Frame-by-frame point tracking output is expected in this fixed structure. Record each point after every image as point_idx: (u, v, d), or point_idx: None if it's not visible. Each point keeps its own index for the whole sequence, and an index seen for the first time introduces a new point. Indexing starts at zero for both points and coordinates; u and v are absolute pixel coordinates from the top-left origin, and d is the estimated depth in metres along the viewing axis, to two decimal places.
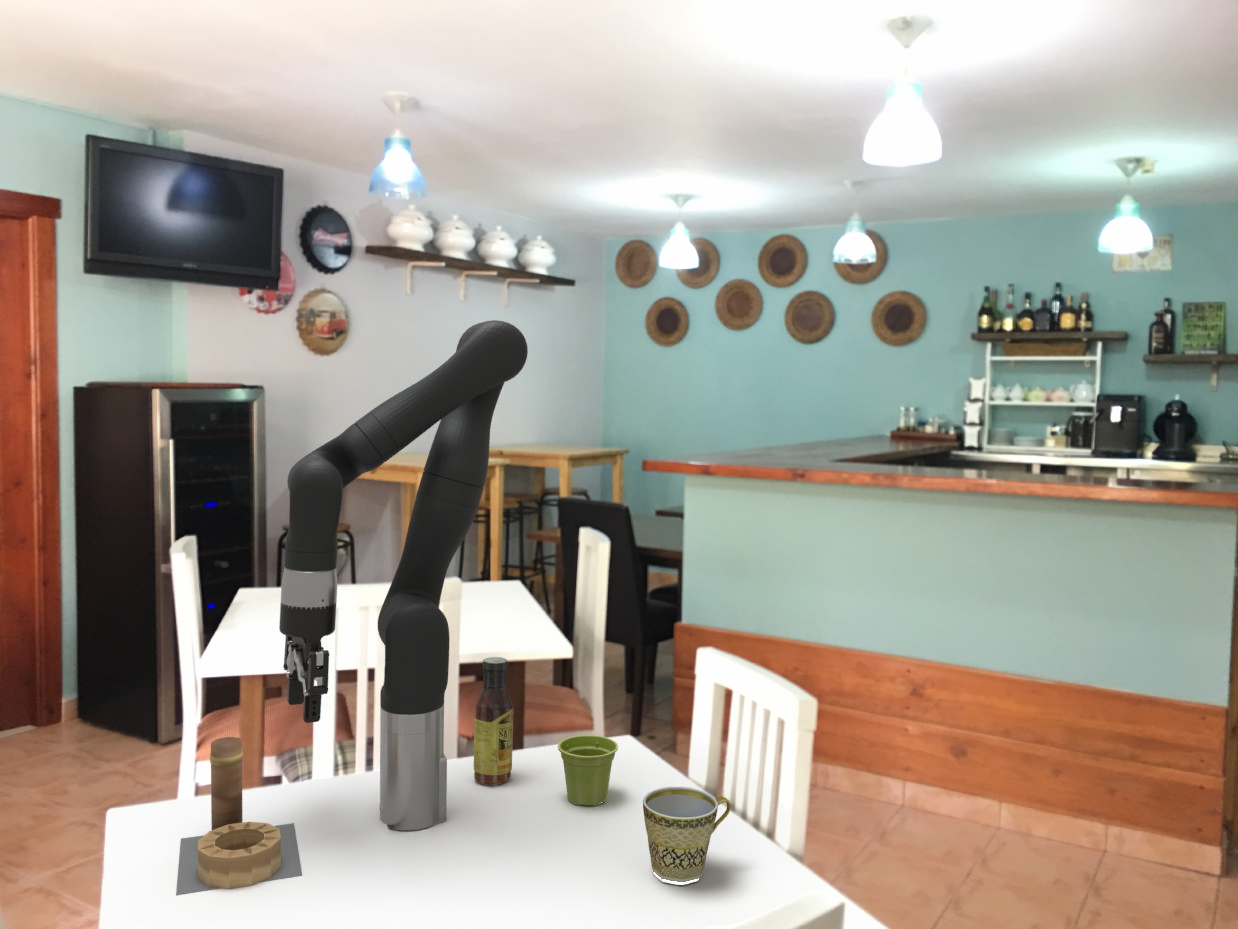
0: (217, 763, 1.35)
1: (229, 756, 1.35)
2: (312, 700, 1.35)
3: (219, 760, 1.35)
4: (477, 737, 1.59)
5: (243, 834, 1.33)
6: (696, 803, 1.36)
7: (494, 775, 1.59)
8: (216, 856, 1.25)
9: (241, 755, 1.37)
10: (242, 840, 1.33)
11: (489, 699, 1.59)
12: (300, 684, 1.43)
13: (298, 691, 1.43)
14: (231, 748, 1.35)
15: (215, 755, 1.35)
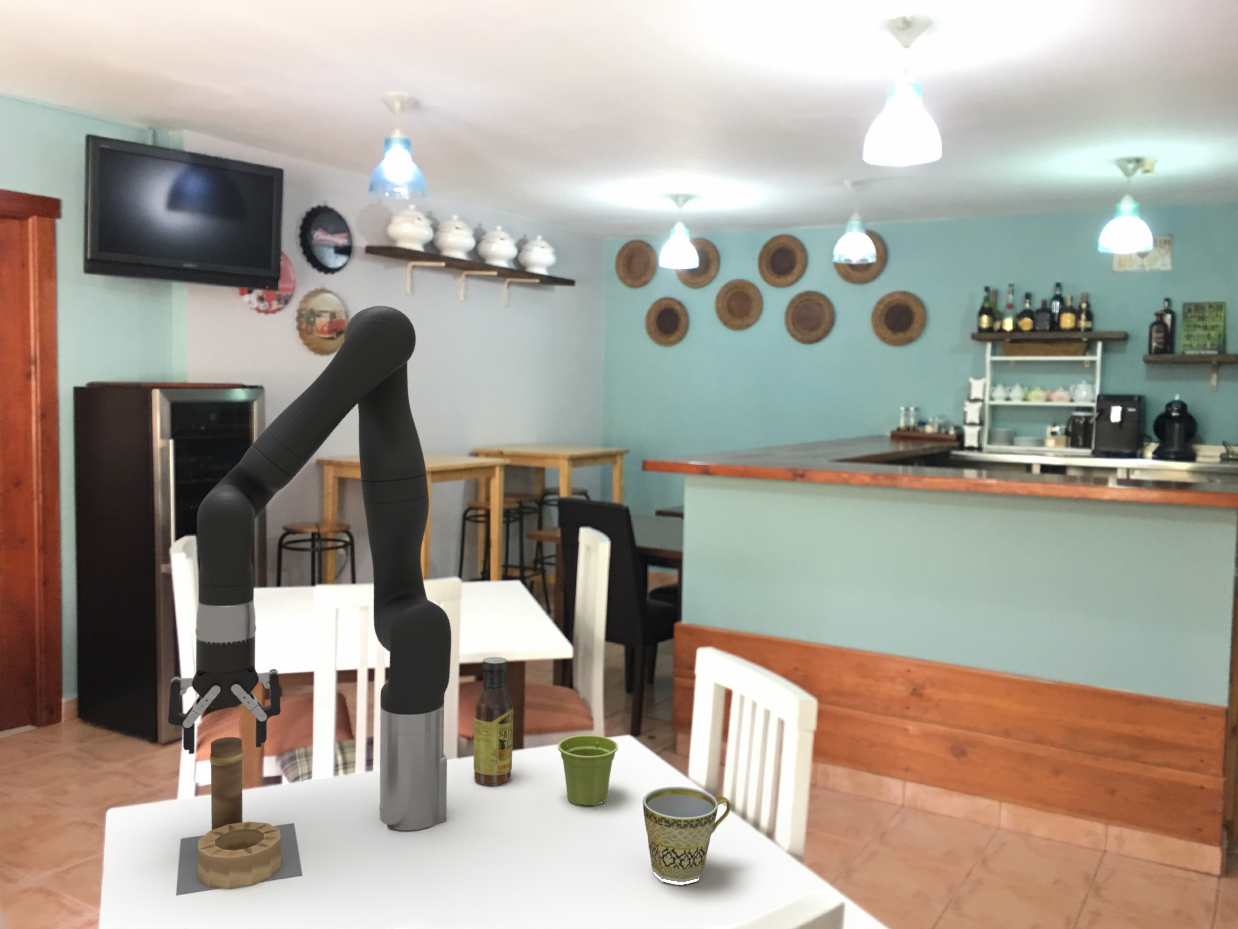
0: (217, 763, 1.35)
1: (229, 756, 1.35)
2: None
3: (219, 760, 1.35)
4: (477, 737, 1.59)
5: (243, 834, 1.33)
6: (696, 803, 1.36)
7: (494, 775, 1.59)
8: (216, 856, 1.25)
9: (241, 755, 1.37)
10: (242, 840, 1.33)
11: (489, 699, 1.59)
12: (194, 729, 1.35)
13: (194, 737, 1.35)
14: (231, 748, 1.35)
15: (215, 755, 1.35)
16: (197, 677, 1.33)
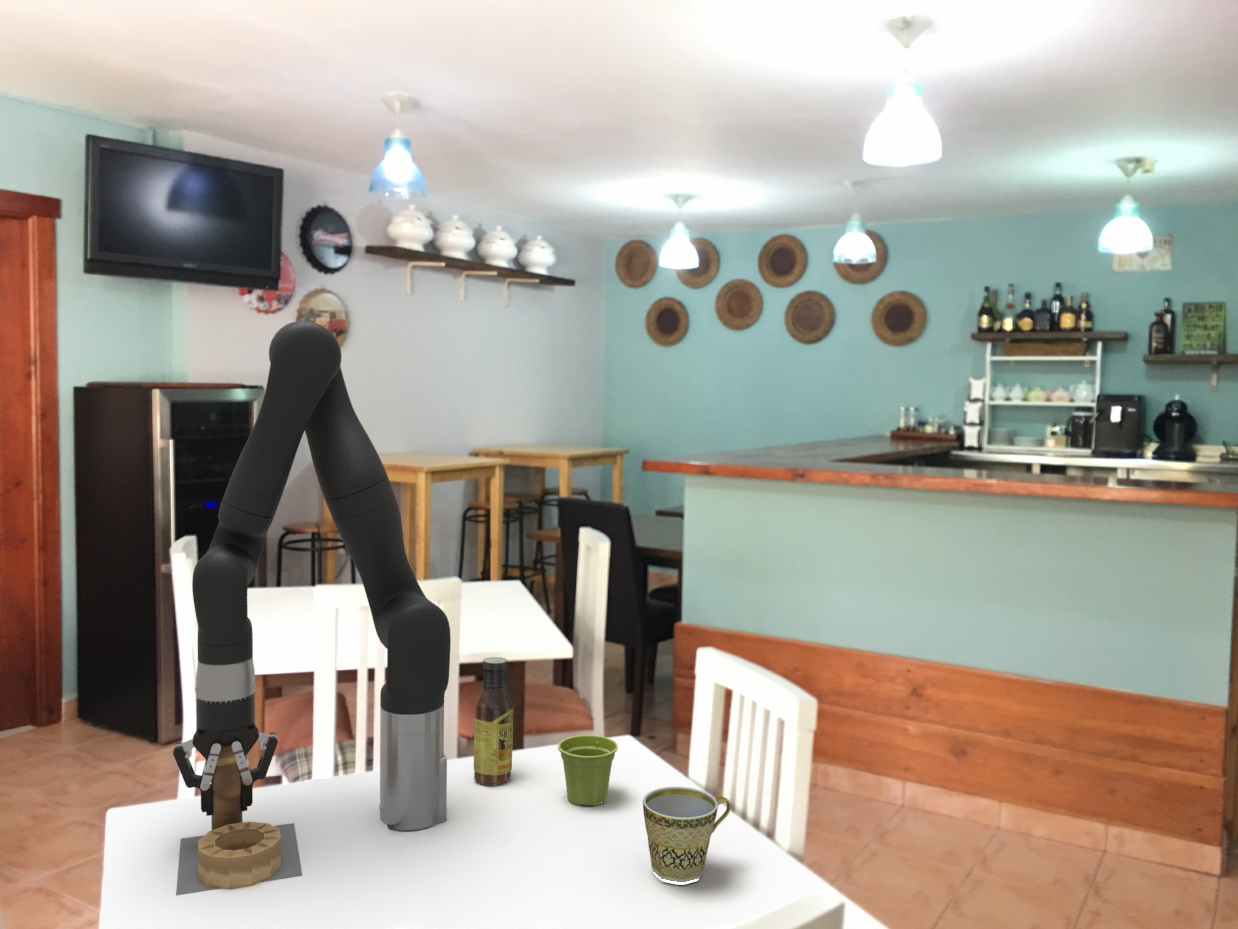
0: (217, 763, 1.35)
1: (229, 756, 1.35)
2: None
3: (219, 760, 1.35)
4: (477, 737, 1.59)
5: (243, 834, 1.33)
6: (696, 803, 1.36)
7: (494, 775, 1.59)
8: (216, 856, 1.25)
9: None
10: (242, 840, 1.33)
11: (489, 699, 1.59)
12: None
13: None
14: (231, 748, 1.35)
15: None
16: (195, 737, 1.34)
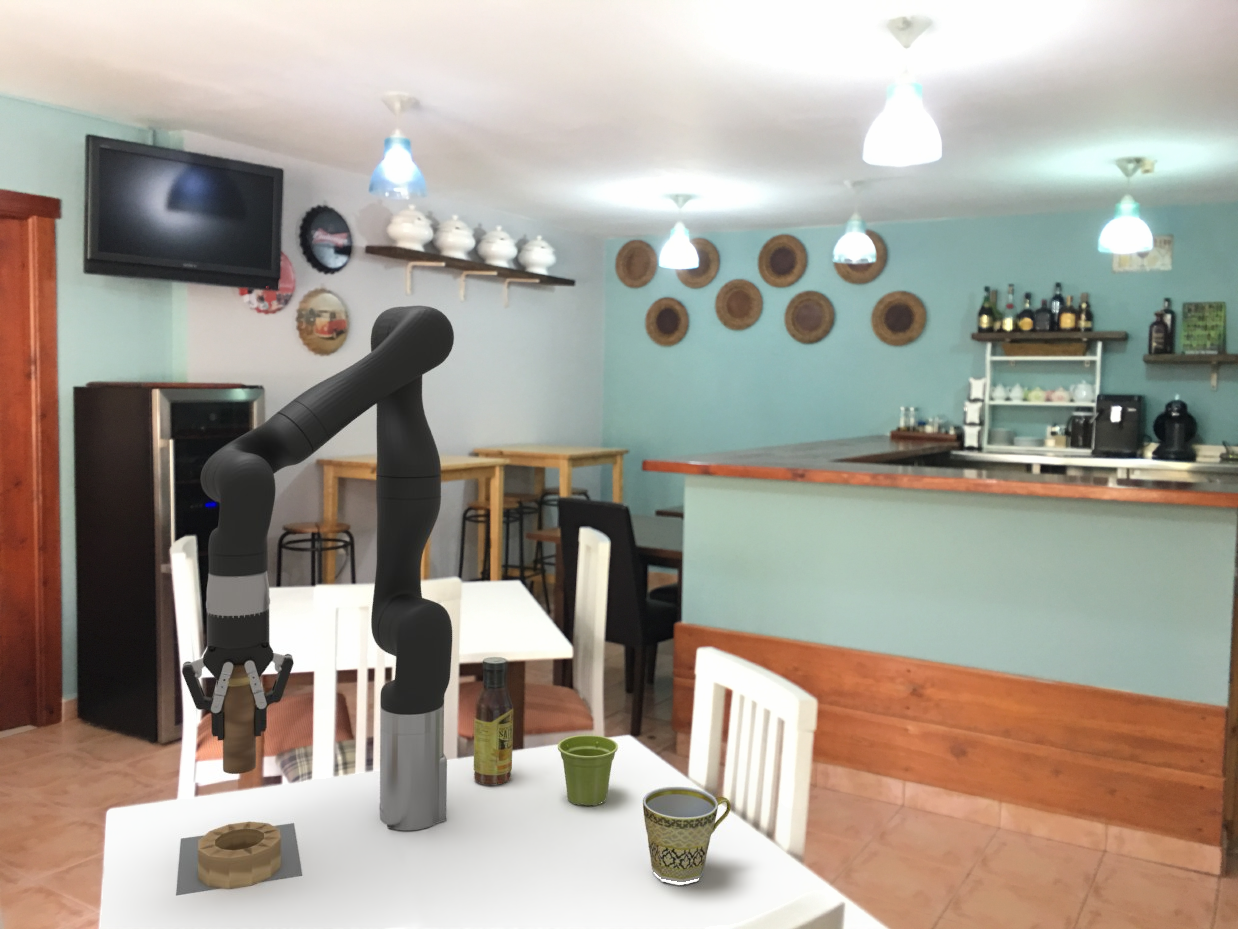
0: (229, 684, 1.26)
1: (242, 676, 1.26)
2: None
3: (231, 680, 1.26)
4: (477, 737, 1.59)
5: (243, 834, 1.33)
6: (696, 803, 1.36)
7: (494, 775, 1.59)
8: (216, 856, 1.25)
9: None
10: (242, 840, 1.33)
11: (489, 699, 1.59)
12: None
13: None
14: (244, 668, 1.26)
15: None
16: (205, 655, 1.25)
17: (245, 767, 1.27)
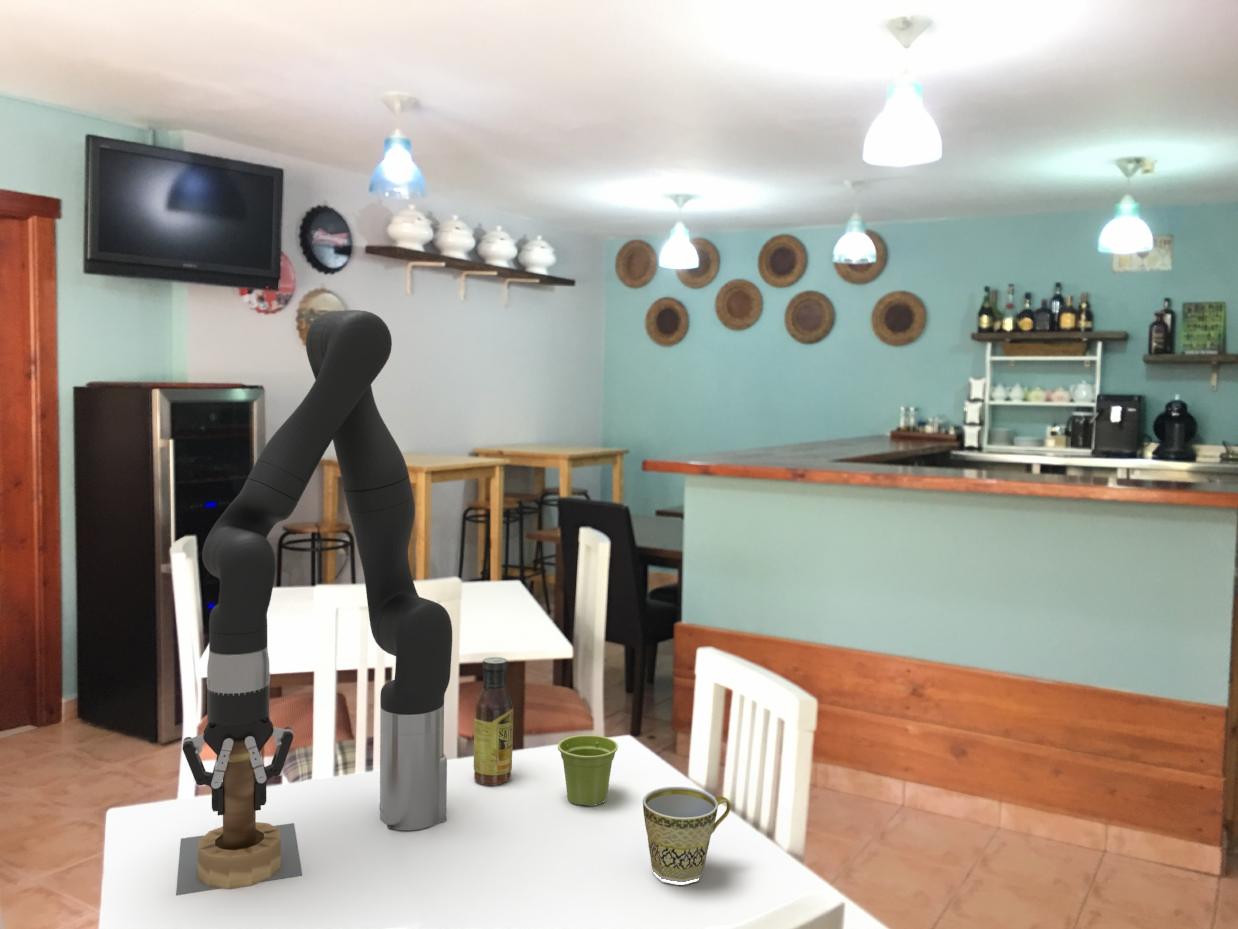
0: (229, 759, 1.26)
1: (242, 752, 1.27)
2: None
3: (231, 756, 1.26)
4: (477, 737, 1.59)
5: None
6: (696, 803, 1.36)
7: (494, 775, 1.59)
8: (216, 856, 1.25)
9: None
10: None
11: (489, 699, 1.59)
12: None
13: None
14: (244, 743, 1.27)
15: None
16: (206, 732, 1.26)
17: (245, 842, 1.28)
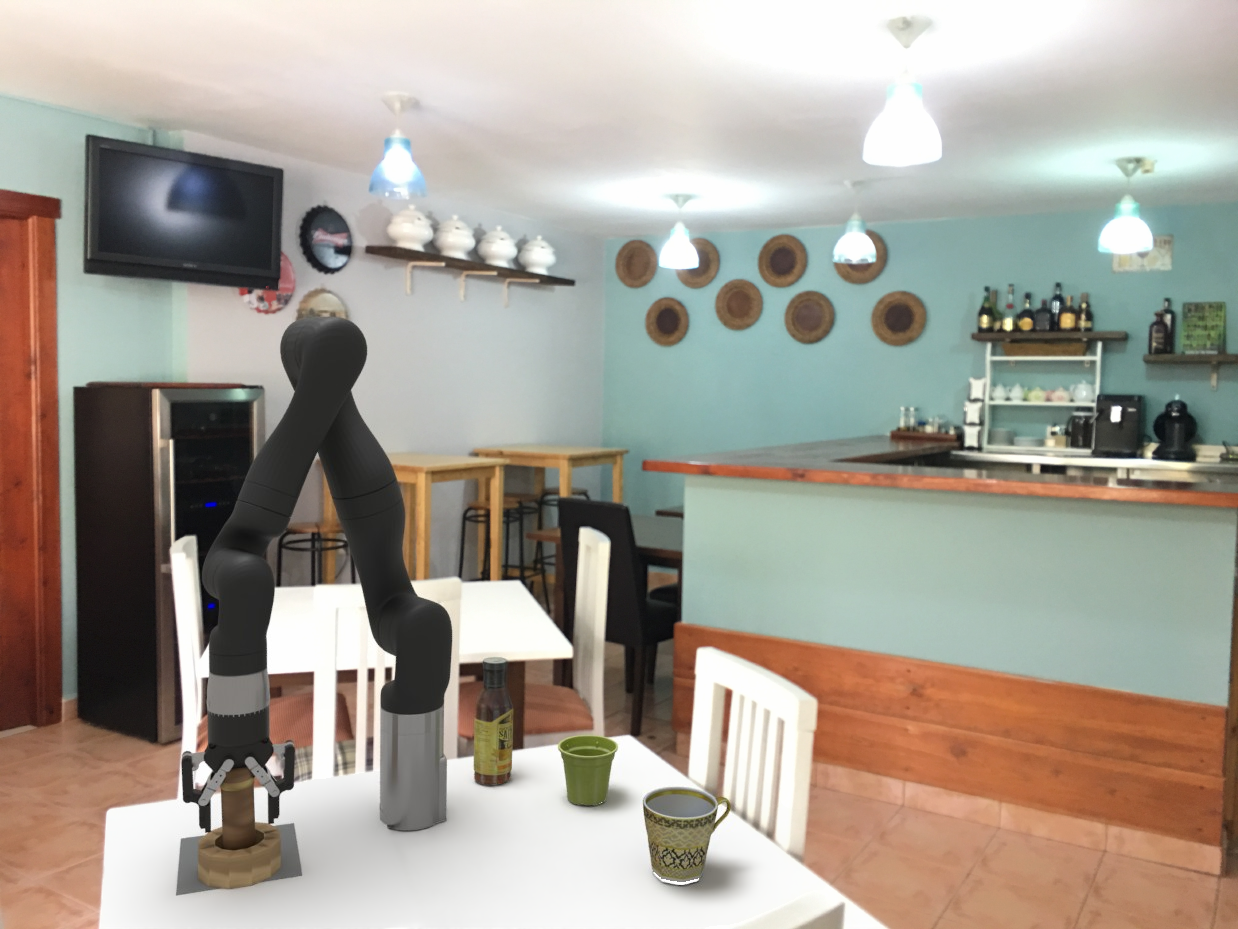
0: (227, 788, 1.27)
1: (240, 781, 1.27)
2: None
3: (229, 785, 1.26)
4: (477, 737, 1.59)
5: None
6: (696, 803, 1.36)
7: (494, 775, 1.59)
8: (216, 856, 1.25)
9: (253, 779, 1.28)
10: None
11: (490, 699, 1.59)
12: None
13: None
14: (242, 772, 1.27)
15: (225, 780, 1.27)
16: (208, 751, 1.26)
17: None
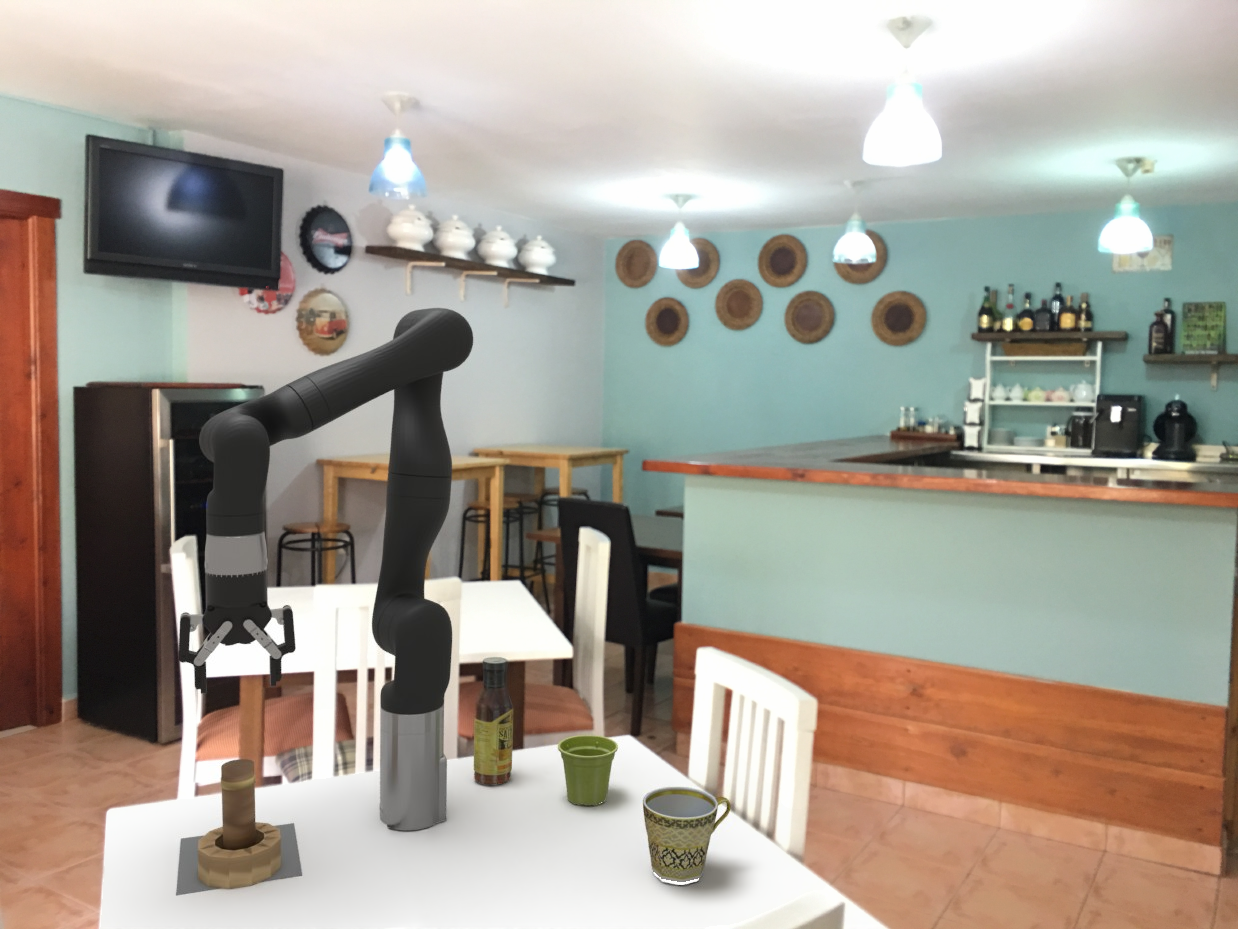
0: (228, 788, 1.27)
1: (241, 780, 1.27)
2: None
3: (230, 784, 1.27)
4: (477, 737, 1.59)
5: None
6: (696, 803, 1.36)
7: (494, 775, 1.59)
8: (216, 856, 1.25)
9: (254, 778, 1.29)
10: None
11: (489, 699, 1.59)
12: None
13: None
14: (243, 771, 1.27)
15: (226, 779, 1.27)
16: (207, 613, 1.27)
17: None
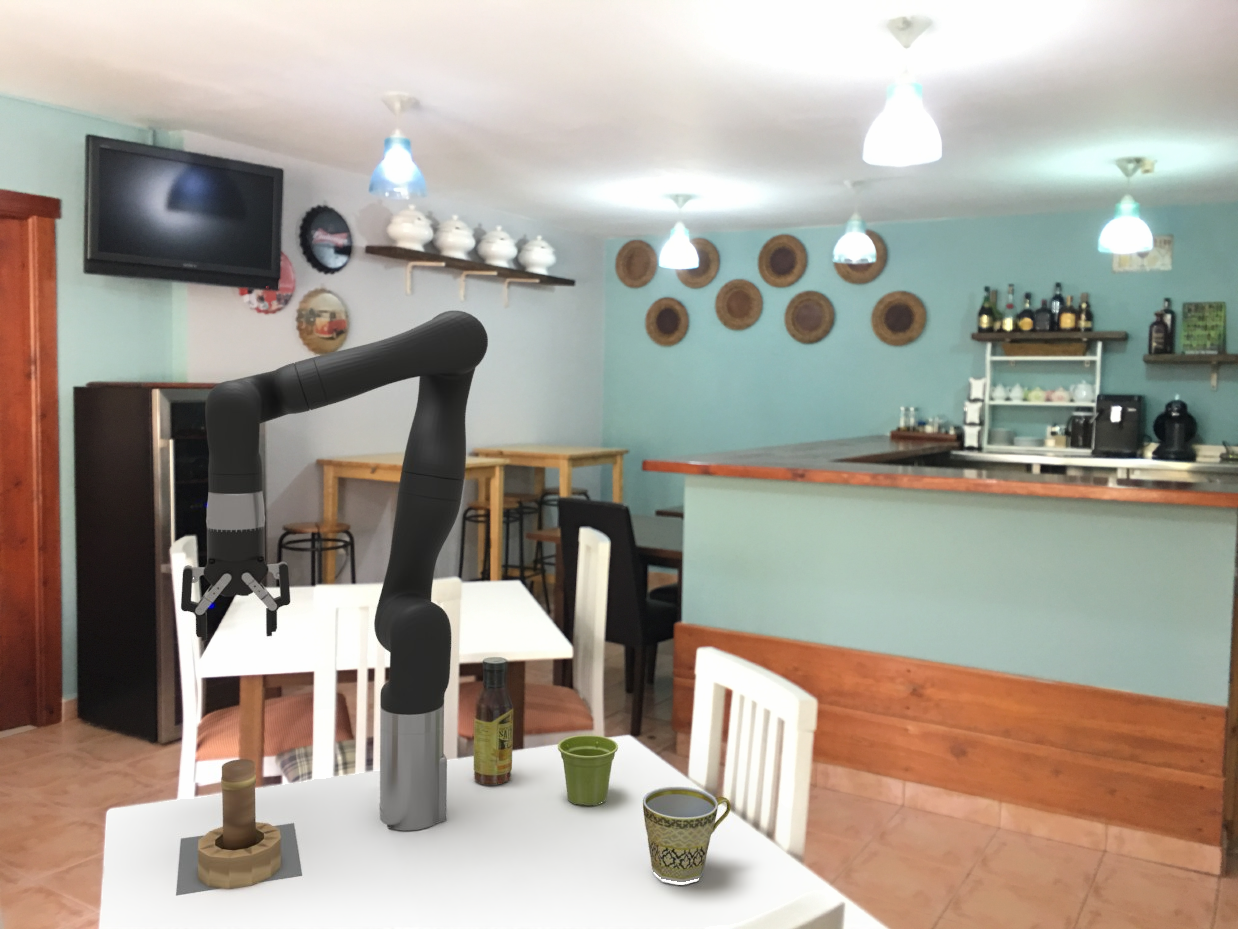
0: (229, 787, 1.27)
1: (241, 780, 1.27)
2: None
3: (231, 784, 1.27)
4: (477, 737, 1.59)
5: None
6: (696, 803, 1.36)
7: (494, 775, 1.59)
8: (216, 856, 1.25)
9: (254, 778, 1.29)
10: None
11: (489, 699, 1.59)
12: None
13: None
14: (243, 771, 1.27)
15: (226, 779, 1.27)
16: (208, 565, 1.36)
17: None
